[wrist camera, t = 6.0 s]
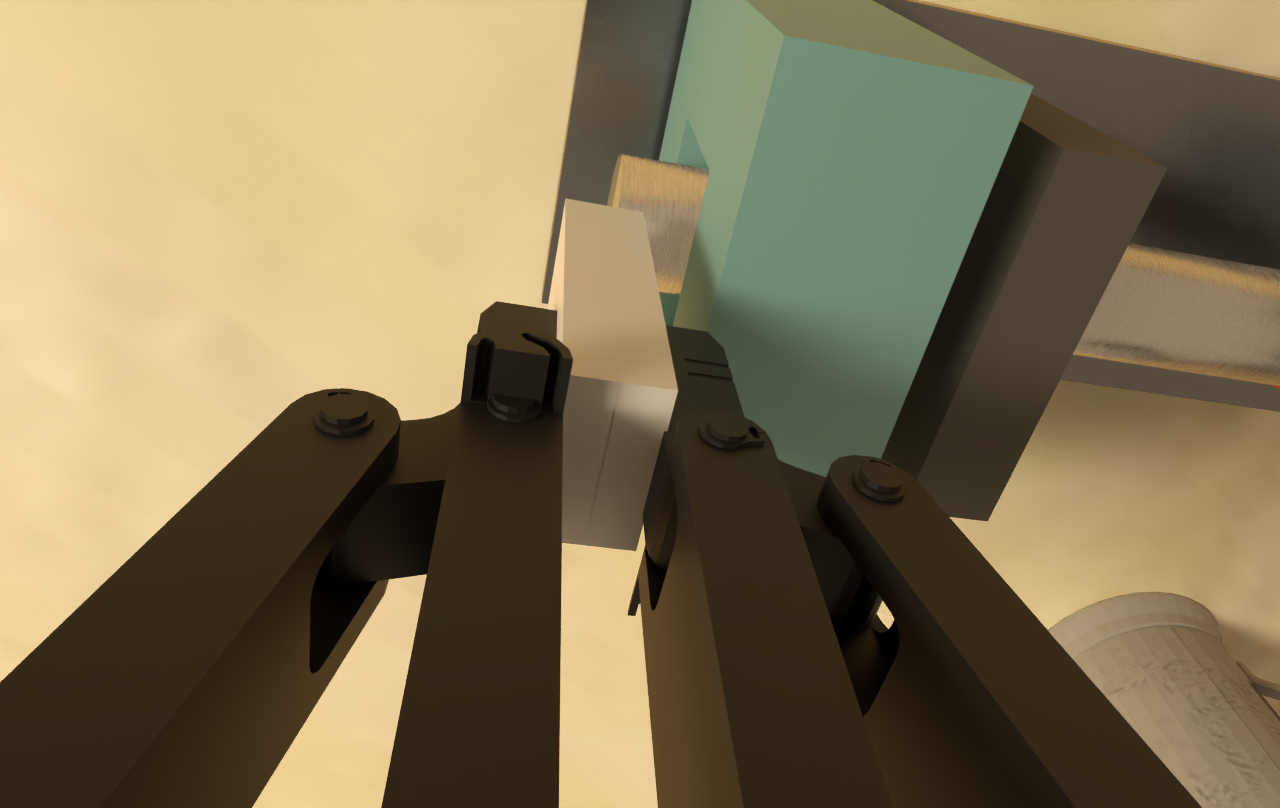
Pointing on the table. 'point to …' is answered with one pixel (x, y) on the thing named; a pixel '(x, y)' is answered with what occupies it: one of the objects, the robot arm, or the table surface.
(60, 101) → the table surface
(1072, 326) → the dark gray square plate
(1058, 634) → the glass holder
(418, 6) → the table surface
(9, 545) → the table surface
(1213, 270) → the grey piece
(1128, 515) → the table surface
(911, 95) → the green block with hole
